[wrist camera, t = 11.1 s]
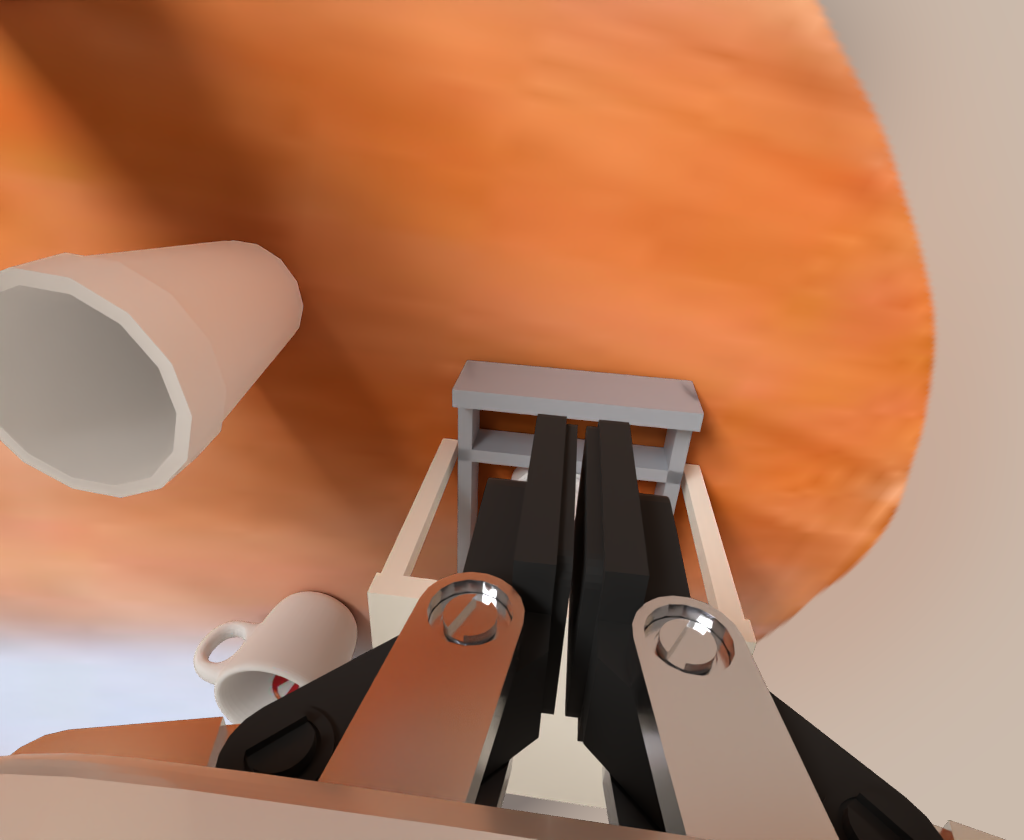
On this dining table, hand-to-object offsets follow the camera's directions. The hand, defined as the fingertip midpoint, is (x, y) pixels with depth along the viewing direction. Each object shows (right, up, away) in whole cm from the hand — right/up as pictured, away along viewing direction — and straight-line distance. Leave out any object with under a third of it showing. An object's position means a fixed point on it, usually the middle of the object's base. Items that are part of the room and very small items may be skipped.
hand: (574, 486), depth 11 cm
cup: (-17, -14, +34) cm, 41 cm away
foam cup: (-16, +8, +23) cm, 29 cm away
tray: (+2, -3, +25) cm, 26 cm away
